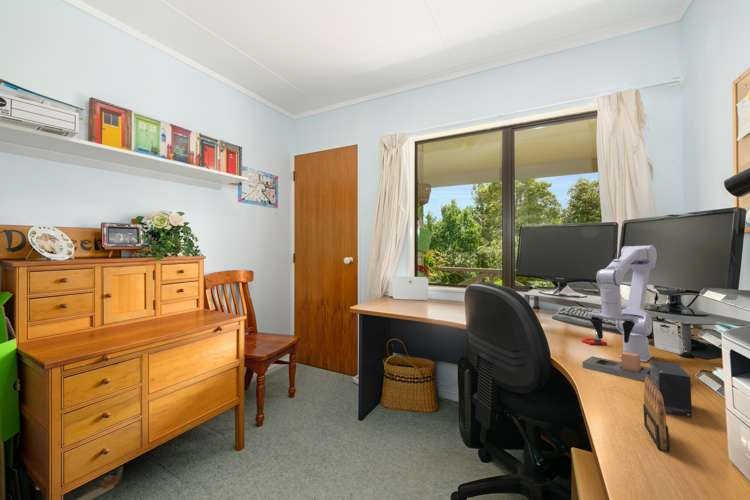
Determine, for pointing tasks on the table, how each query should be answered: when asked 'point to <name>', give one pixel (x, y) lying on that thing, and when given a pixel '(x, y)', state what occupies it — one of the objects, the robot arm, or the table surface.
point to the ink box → (667, 338)
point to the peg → (631, 361)
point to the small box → (672, 387)
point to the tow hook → (595, 340)
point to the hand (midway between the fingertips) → (613, 340)
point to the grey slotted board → (615, 368)
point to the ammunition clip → (655, 416)
